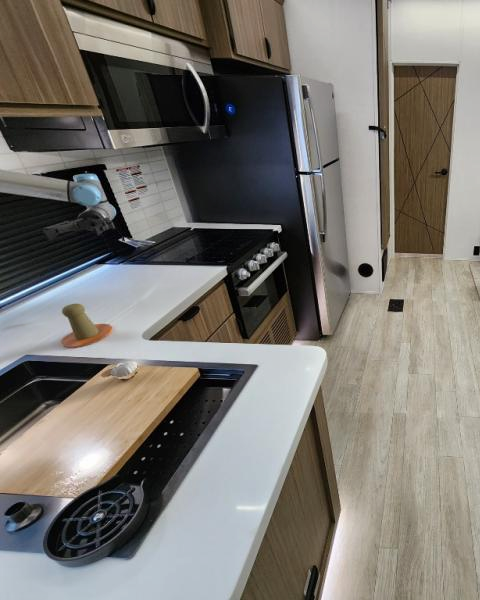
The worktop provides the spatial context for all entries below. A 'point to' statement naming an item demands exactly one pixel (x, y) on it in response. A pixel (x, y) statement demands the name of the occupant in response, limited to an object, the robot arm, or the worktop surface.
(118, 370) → the garlic
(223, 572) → the worktop surface
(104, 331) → the coaster
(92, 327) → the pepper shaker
